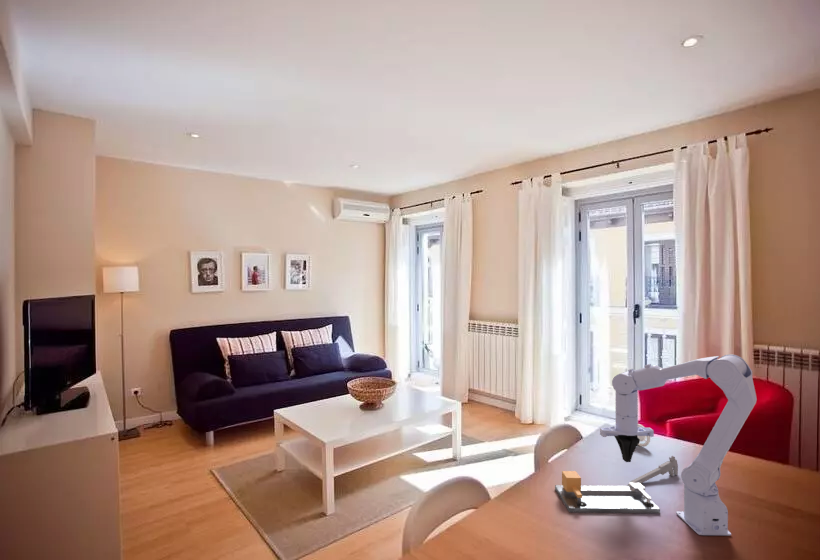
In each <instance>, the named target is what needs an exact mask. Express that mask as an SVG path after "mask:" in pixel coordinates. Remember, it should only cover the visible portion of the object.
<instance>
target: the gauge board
mask: <svg viewBox="0 0 820 560" xmlns="http://www.w3.org/2000/svg"><path fill="white" fill-rule="evenodd" d="M628 484H629V486H627V485H587V484H586V485H585V484H584V485H582V484H581V492H580V493H581V494H582V498H581V504H578V503H577V496H576V495H575V493H574V492H566V490H565V489H564V487H563V485H562V484H560V485H559V484H556V485H554V490H555V492H556V493H557V495H558V497H559V498H560V500H561V502H562V503H563V504H564V506H565V508H566V510H567V511H568V512H569V513H574V514H575V513H585V514H586V513H589V514H593V513H595V514H597V513H598V514H599V513H600V514H605V513H606V514H661V508H660V507H659V506H658V504H656V503H655V502H654V501H653V500H652V497H651V496H650V495H649V494H648V493H647V492H646V487H645V486H644V485H643V483H630V482H628Z"/></svg>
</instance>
